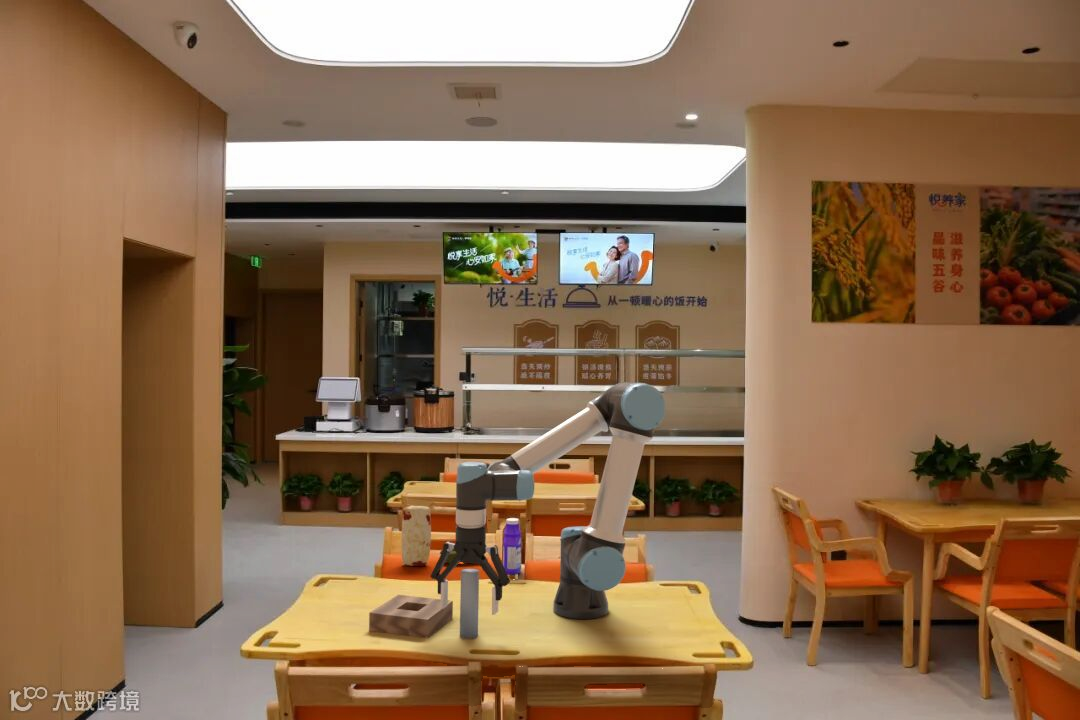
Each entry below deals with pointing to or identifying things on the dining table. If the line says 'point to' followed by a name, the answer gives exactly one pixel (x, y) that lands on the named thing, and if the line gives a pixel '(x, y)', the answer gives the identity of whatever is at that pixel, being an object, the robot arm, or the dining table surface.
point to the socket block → (410, 616)
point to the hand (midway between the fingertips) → (469, 610)
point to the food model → (416, 535)
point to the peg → (469, 603)
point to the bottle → (512, 547)
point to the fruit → (450, 556)
